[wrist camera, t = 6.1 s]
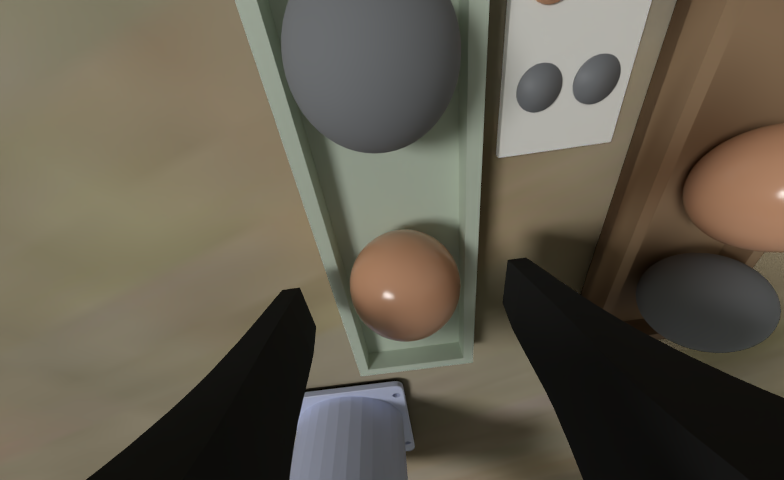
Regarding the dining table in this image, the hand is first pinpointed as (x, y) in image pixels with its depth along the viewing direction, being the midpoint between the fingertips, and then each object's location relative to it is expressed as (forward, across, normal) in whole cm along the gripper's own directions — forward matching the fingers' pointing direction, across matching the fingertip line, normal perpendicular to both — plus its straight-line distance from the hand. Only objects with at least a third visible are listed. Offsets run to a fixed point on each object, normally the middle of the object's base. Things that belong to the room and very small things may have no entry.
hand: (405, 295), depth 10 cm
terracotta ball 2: (0, -12, -2) cm, 12 cm away
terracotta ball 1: (0, 0, 0) cm, 1 cm away
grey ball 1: (0, 0, -7) cm, 7 cm away
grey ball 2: (0, -12, +3) cm, 12 cm away
